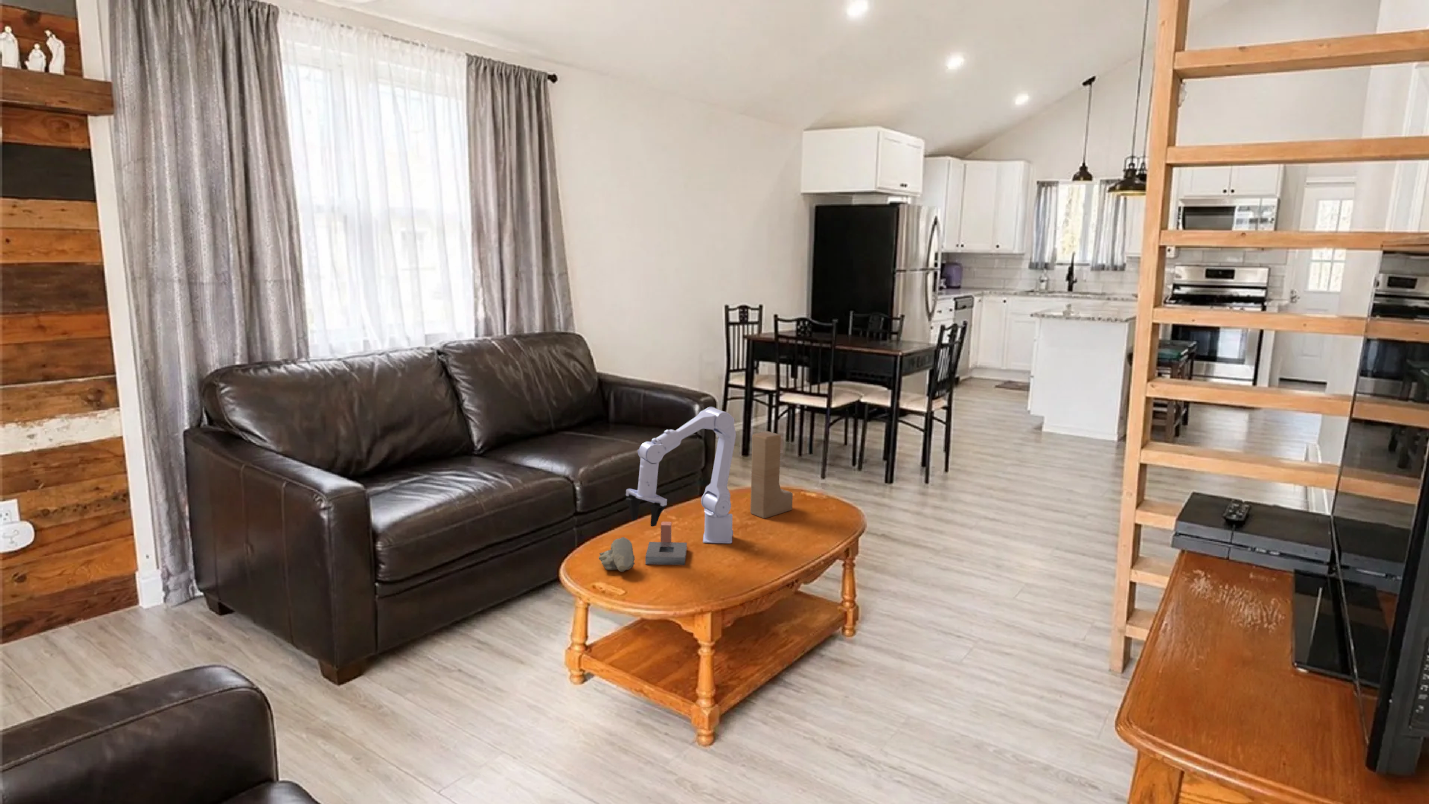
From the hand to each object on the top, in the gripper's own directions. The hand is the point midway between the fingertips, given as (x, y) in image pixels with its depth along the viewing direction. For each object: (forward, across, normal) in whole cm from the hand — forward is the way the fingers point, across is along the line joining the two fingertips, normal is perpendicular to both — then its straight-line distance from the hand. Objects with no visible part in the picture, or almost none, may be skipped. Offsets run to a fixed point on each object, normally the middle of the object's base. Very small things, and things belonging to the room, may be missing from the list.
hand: (643, 522), depth 254 cm
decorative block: (+5, +14, +59) cm, 61 cm away
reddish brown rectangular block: (+9, +1, +12) cm, 15 cm away
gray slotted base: (+10, +8, +3) cm, 13 cm away
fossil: (+12, +1, -13) cm, 17 cm away
